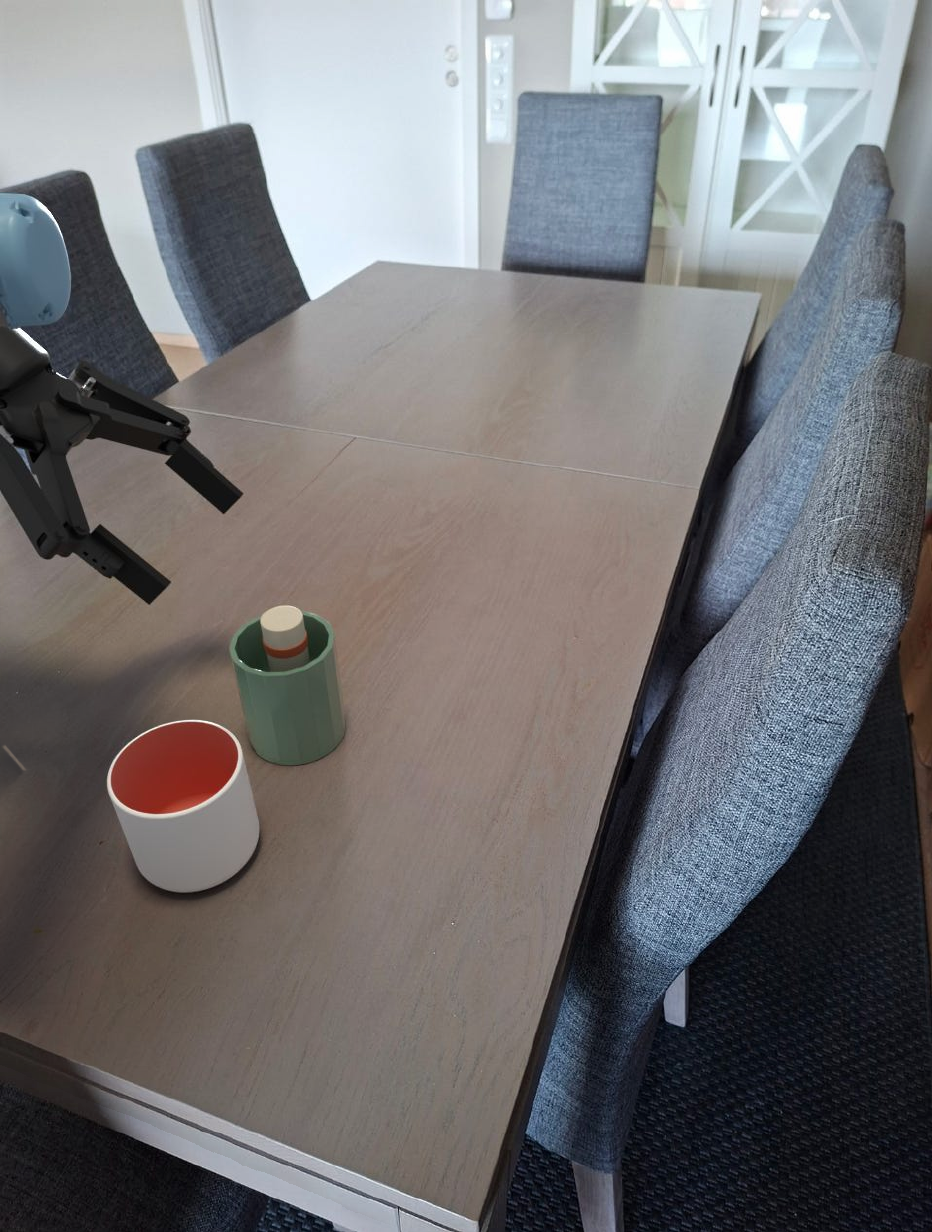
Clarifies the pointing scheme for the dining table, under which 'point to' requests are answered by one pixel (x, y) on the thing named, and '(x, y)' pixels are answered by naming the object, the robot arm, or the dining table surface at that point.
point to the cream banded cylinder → (284, 638)
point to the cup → (185, 804)
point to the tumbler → (290, 695)
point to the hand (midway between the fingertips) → (200, 546)
